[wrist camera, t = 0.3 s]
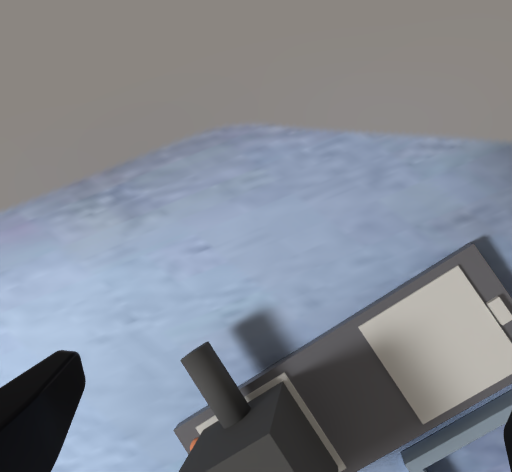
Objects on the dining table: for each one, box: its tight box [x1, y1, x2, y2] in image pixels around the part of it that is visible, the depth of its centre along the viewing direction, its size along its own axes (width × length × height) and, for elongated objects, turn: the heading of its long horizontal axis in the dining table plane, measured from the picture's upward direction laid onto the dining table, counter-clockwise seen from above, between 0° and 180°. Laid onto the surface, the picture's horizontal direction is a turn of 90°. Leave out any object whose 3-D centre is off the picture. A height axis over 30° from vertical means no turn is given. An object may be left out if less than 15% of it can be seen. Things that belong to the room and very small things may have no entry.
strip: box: [173, 243, 512, 472], centre depth 23 cm, size 6×18×1 cm, turn 124°
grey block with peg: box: [179, 342, 338, 472], centre depth 21 cm, size 9×5×6 cm, turn 34°
